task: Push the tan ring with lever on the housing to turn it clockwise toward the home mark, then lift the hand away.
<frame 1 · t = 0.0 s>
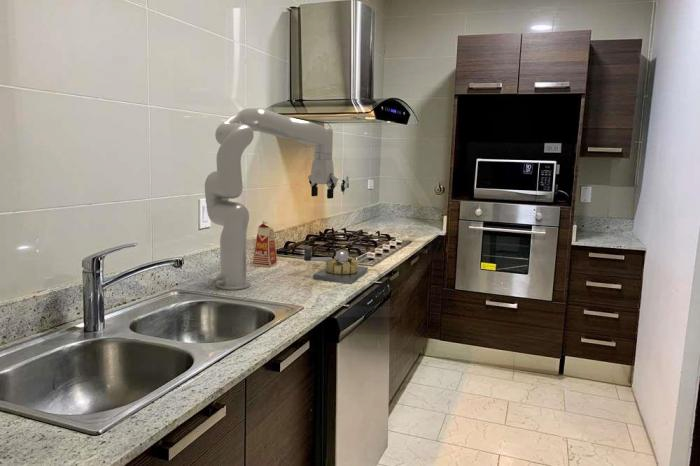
hand: (322, 197, 222), 31 cm above the table, fingers open, 9 cm apart
milk carton: (264, 264, 230), on the table
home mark: (321, 269, 225), on the table
housing: (341, 275, 216), on the table
tan ring with lever: (331, 258, 213), point 7 cm above the table, hinge at 0.0°
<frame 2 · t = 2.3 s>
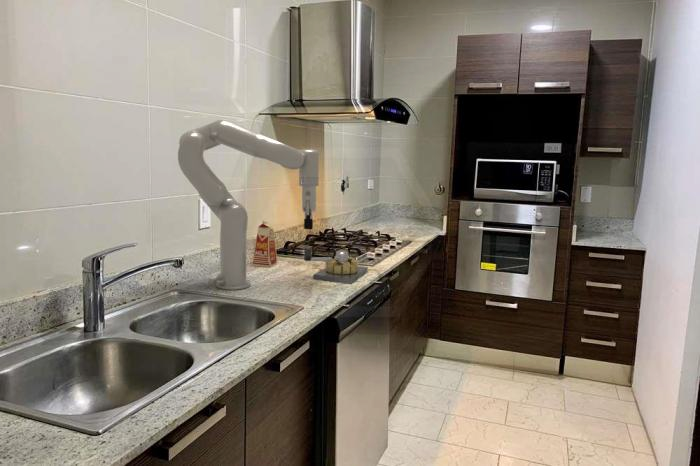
hand: (308, 228, 202), 21 cm above the table, fingers closed
nothing on the table moved.
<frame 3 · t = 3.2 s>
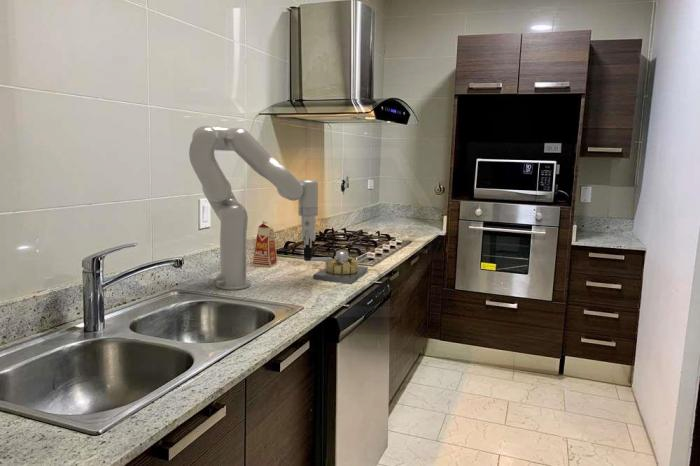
hand: (307, 257, 204), 9 cm above the table, fingers closed
nothing on the table moved.
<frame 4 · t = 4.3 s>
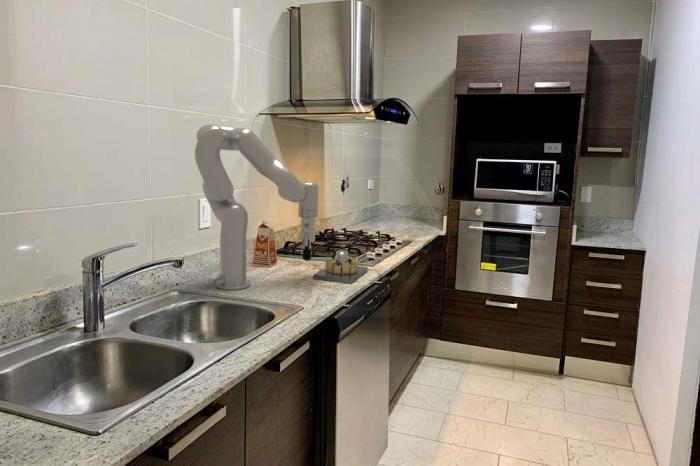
hand: (306, 258, 207), 8 cm above the table, fingers closed
tan ring with lever: (331, 258, 214), point 7 cm above the table, hinge at 1.9°, touching gripper
everything else where it was.
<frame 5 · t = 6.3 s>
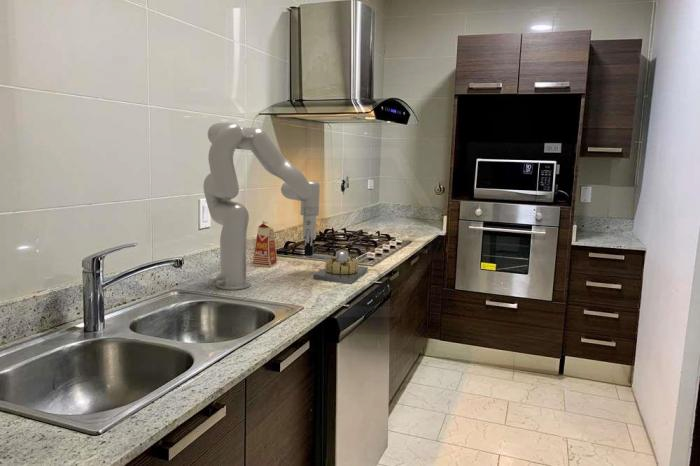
hand: (308, 255, 215), 8 cm above the table, fingers closed
tan ring with lever: (331, 257, 216), point 7 cm above the table, hinge at 35.5°, touching gripper
everything else where it was.
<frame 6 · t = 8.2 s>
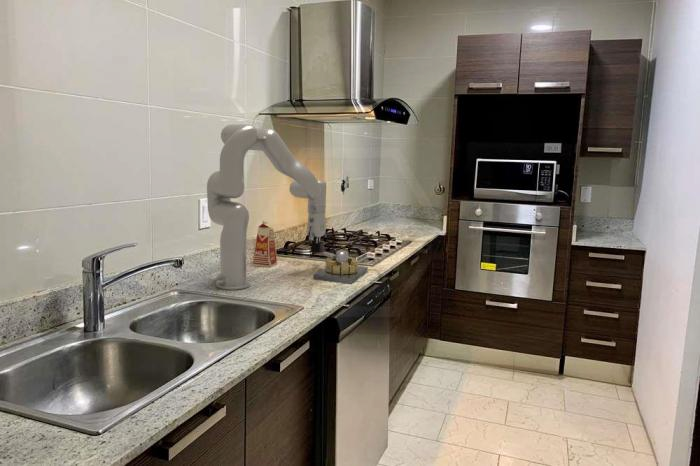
hand: (315, 252, 222), 8 cm above the table, fingers closed
tan ring with lever: (334, 256, 218), point 7 cm above the table, hinge at 64.9°, touching gripper
everything else where it was.
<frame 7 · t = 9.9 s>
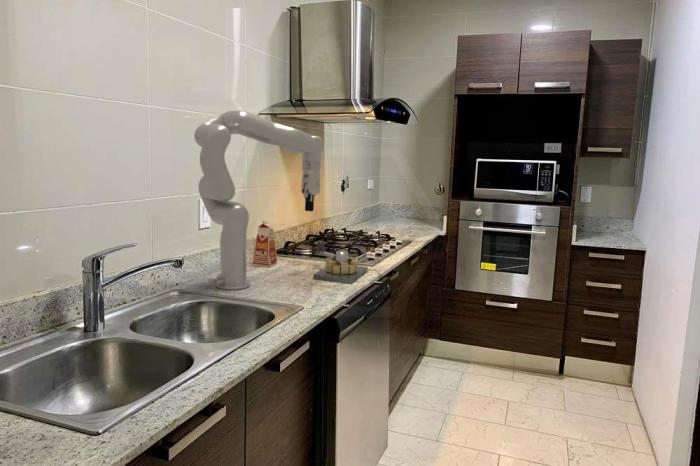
hand: (309, 210, 214), 26 cm above the table, fingers closed
tan ring with lever: (334, 256, 218), point 7 cm above the table, hinge at 65.2°
everything else where it was.
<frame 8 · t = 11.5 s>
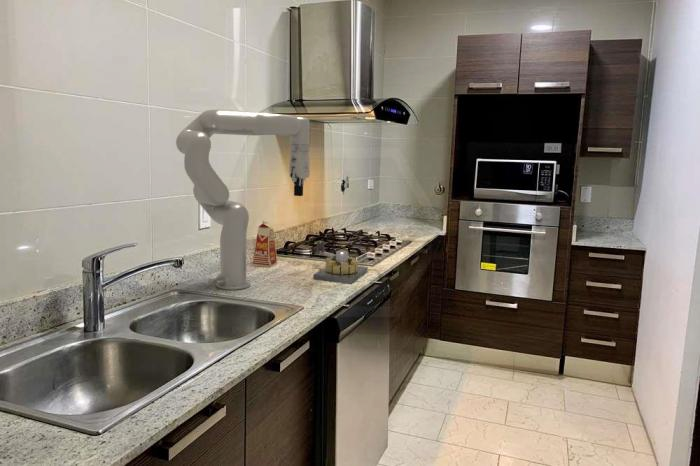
hand: (298, 195, 207), 33 cm above the table, fingers closed
nothing on the table moved.
at the end: tan ring with lever at +65° (first picture: +0°) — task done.
